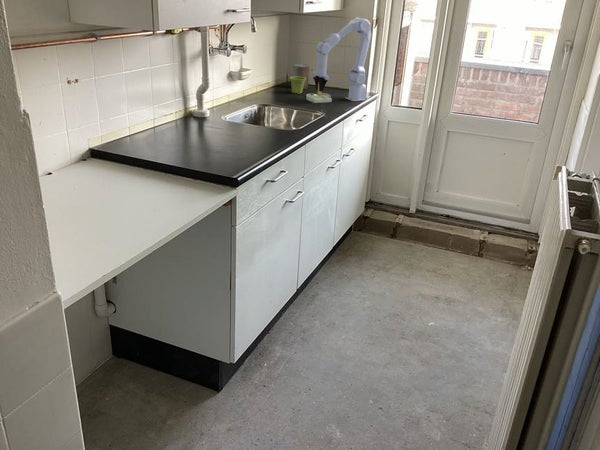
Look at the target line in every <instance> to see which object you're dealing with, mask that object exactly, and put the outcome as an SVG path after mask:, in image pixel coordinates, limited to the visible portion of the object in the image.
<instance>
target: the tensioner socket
mask: <svg viewBox="0 0 600 450" xmlns="http://www.w3.org/2000/svg"><path fill="white" fill-rule="evenodd" d="M322 95H324V96H327V97H329V98H331V97H332V95H331V94H328V93H327V92H326V93H325V92H322ZM331 99H332V98H331Z"/></svg>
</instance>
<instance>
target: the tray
mask: <svg viewBox="0 0 600 450" xmlns="http://www.w3.org/2000/svg"><path fill="white" fill-rule="evenodd" d="M316 95H317V94H316ZM305 100H306V101H308V102H309V103H310V102H311V103H313V104H325V103H328V104H329V103H332V101H333V98H329V97H327V96H324V95H321V96H318V95H317V96H306V98H305Z"/></svg>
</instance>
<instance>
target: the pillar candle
mask: <svg viewBox="0 0 600 450" xmlns="http://www.w3.org/2000/svg"><path fill="white" fill-rule="evenodd" d="M292 75H293V76H298V77H304V78H306V80H305V82H304V86H303V90H307V89H309V77H310V65H309V64H306V63H295V64H293V72H292ZM293 76H292V77H293Z"/></svg>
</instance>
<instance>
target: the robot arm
mask: <svg viewBox="0 0 600 450" xmlns="http://www.w3.org/2000/svg"><path fill="white" fill-rule="evenodd" d="M371 24H372V23H371V22H370V21H369V19H367V18H362V17H361V18H360V17H358V16H357V17H354V18H353V19H352V20H350V21H349V22H348V23H347V24H346V25H345V26H344V27H342V28H341V29H340V30H339V31H338V32H337V33H330V34H329V36H328V37H327V38H325V39H323V40H322V41H320V42H318V43H317V45H316V46H315V51H316V65H315V66H316V67H315V71H312V76H313V77H312V78H313V80H314V85H315V89H316V91H318V82H319V91H322V92H324V90H325V87H326V84H327V82H328V81H329V80H330V76H329V75H328V74H327V68H328V58H329V57H328V54H329V53H330V52H331V50H332V49H333V48H335V46H337V45H338V44H339V43H340V40H342V38H344V37H345V36H347V35H348V34H350V33H351V32H355V31H356V32H357V33H358V35H359V36H360V40H359V44H358V46H357V52H356V57H355V60H354V65H353V66H352V68H350V71H349V73H348V76H347V78H348V80H349V88H348V89H349V90H348V97H344V98H345V99H346V100H349V101H352V102H360V101H367V99H366V98H367V97H366V96H367V85H366V84H365V81H366V69H365V64H366V59H367V55H368V50H369V47H370V42H371V39H372V32H371Z"/></svg>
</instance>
